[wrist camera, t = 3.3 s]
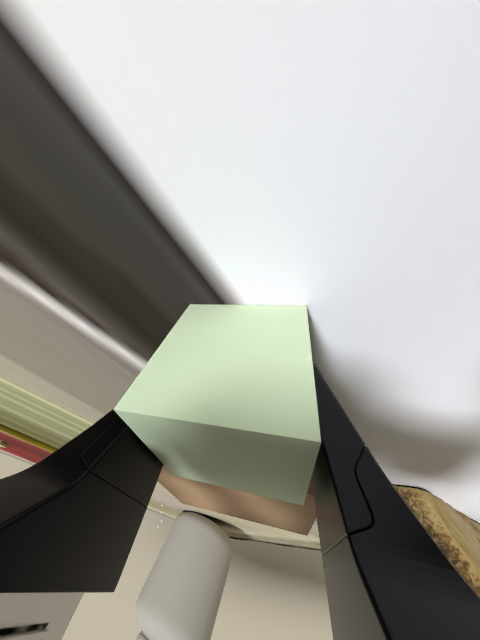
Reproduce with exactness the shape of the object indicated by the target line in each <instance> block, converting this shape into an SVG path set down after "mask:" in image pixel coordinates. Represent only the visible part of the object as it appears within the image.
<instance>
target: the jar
mask: <svg viewBox="0 0 480 640" xmlns="http://www.w3.org/2000/svg"><path fill="white" fill-rule="evenodd" d="M161 506H163V505H161ZM161 513H162V511H161ZM161 522H162V520H161ZM158 527H159V526H158ZM232 555H233V546H232V542H231V540H230V538H229V536H228V534H227V533H226V532H225V531H224V530H223V529H222V528H221V527H220V526H218V525H217V524H216V523H214V522H213V521H211V520H210V519H208V518H206V517H204V516H202V515H200V514H198V513H195V512H191V511H187V512H183V513H181V514H179V515H178V516H177V518H176V520H175V521H174V524H173V526H172V528H171V530H170V532H169V534H168V536H167V538H166V540H165V542H164V544H163V547H162V549H161V551H160V553H159V555H158V557H157V559H156V561H155V563H154V565H153V567H152V569H151V571H150V574H149V576H148V578H147V580H146V582H145V584H144V586H143V588H142V590H141V592H140V594H139V597H138V599H137V602H136V607H135V614H136V620H137V622H138V624H139V626H140V628H141V629H142V631H141V633H139V635H138V637H137V639H136V640H210V639H211V635H212V631H213V627H214V623H215V619H216V616H217V612H218V608H219V605H220V601H221V597H222V593H223V589H224V586H225V582H226V578H227V574H228V571H229V567H230V562H231V559H232Z"/></svg>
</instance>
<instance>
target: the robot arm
mask: <svg viewBox="0 0 480 640" xmlns="http://www.w3.org/2000/svg"><path fill="white" fill-rule="evenodd" d="M313 371H314V380H315V390H316V399H317V408H318V418H319V427H320V436H321V444H320V448H319V452H318V455H317V459H316V462H315V466H314V470H313V473H312V477H311V479H312V487H313V494H314V501H315V509H316V516H317V523H318V530H319V538H320V545H321V552H322V560H323V567H324V574H325V582H326V589H327V596H328V603H329V611H330V618H331V625H332V632H333V640H480V597H479V596H478V595H477V594H476V593H475V592H474V591H473V590H472V588H471V587H470V586H469V585H468V584H467V583H466V581H465V580H464V579H463V578H462V577H461V575H460V574H459V573H458V572H457V570H456V569H455V568H454V567H453V565H452V564H451V563H450V561H449V560H448V559H447V557H446V556H445V555H444V553H443V552H442V551H441V549H440V548H439V547H438V545H437V544H436V543H435V541H434V540H433V539H432V538H431V536H430V535H429V534H428V532H427V531H426V530H425V528H424V527H423V526H422V524H421V523H420V522H419V520H418V519H417V518H416V516H415V515H414V514H413V512H412V511H411V510H410V508H409V507H408V506H407V504H406V503H405V502H404V500H403V499H402V498H401V496H400V495H399V493H398V492H397V491H396V489H395V488H394V487H393V485H392V484H391V482H390V481H389V480H388V478H387V477H386V475H385V474H384V472H383V471H382V469H381V468H380V466H379V465H378V463H377V462H376V460H375V459H374V457H373V455H372V454H371V452H370V451H369V449H368V448H367V447H366V446H365V443H364V441H363V440H362V438H361V437H360V435H359V433H358V432H357V430H356V429H355V427H354V426H353V424H352V422H351V421H350V419H349V418H348V416H347V414H346V413H345V411H344V410H343V408H342V407H341V405H340V403H339V402H338V400H337V399H336V397H335V395H334V394H333V392H332V391H331V389H330V388H329V386H328V384H327V383H326V381H325V380H324V378H323V376H322V375H321V373H320V372H319V370H318V368H317V367H316V365H315V364H314V363H313ZM163 465H164V464H163V463H162V462H161V461H160V460H159V459H158V458H157V457H156V456H155V454H154V453H153V452H152V451H151V450H150V449H149V448H148V447H147V446H146V445H145V444H144V442H143V441H142V440H141V439H140V438H139V437H138V436H137V435H136V434H135V433H134V432H133V430H132V429H131V428H130V427H129V426H128V425H127V424H126V423H125V422H124V421H123V420H122V418H121V417H120V416H119V415H118V414H117V413H116V412H115V411H114V409H113V410H111V411H110V412H109V413H108V414H106V415H105V416H104V417H102V418H101V419H100V420H98V421H97V422H96V423H94V424H93V425H92V426H90V427H89V428H88V429H86V430H85V431H83V432H82V433H81V434H79V435H78V436H76V437H75V438H73V439H72V440H70V441H69V442H68V443H66V444H65V445H63V446H62V447H60V448H59V449H57V450H56V451H55V452H53V453H52V454H50V455H49V456H47V457H46V458H44V459H43V460H41V461H40V462H38V463H37V464H35V465H33V466H32V467H30V468H28V469H26V470H24V471H21V472H19V473H17V474H14V475H11V476H9V477H6V478H3V479H0V640H61V639H62V637H63V635H64V633H65V631H66V629H67V627H68V625H69V622H70V620H71V618H72V616H73V614H74V612H75V610H76V608H77V606H78V604H79V602H80V600H81V598H82V596H83V594H84V592H114V590H115V588H116V586H117V584H118V581H119V579H120V576H121V573H122V570H123V568H124V566H125V563H126V560H127V558H128V555H129V553H130V550H131V548H132V545H133V542H134V540H135V537H136V535H137V532H138V530H139V527H140V524H141V522H142V519H143V516H144V514H145V512H146V509H147V506H148V504H149V501H150V498H151V496H152V493H153V491H154V488H155V485H156V483H157V480H158V478H159V475H160V473H161V470H162V467H163Z"/></svg>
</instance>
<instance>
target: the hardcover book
mask: <svg viewBox="0 0 480 640" xmlns="http://www.w3.org/2000/svg"><path fill="white" fill-rule="evenodd" d="M93 424H94V422H92V421H90V420H88V419H86V418H84V417H82V416H80V415H78V414H76V413H74V412H72V411H70V410H68V409H66V408H64V407H62V406H60V405H58V404H56V403H54V402H52V401H50V400H48V399H46V398H44V397H42V396H40V395H38V394H36V393H34V392H32V391H30V390H28V389H26V388H24V387H22V386H20V385H18V384H16V383H14V382H12V381H10V380H8V379H6V378H4V377H2V376H0V449H1V450H4V451H6V452H9V453H11V454H14V455H16V456H19V457H21V458H24V459H26V460H29V461H31V462H34V463H36V464H37V463H38V462H40V461H41V460H43V459H44V458H46V457H47V456H49V455H50V454H52V453H53V452H55V451H56V450H57V449H59V448H60V447H62V446H63V445H65V444H66V443H68V442H69V441H70V440H72V439H73V438H75V437H76V436H78V435H79V434H81V433H82V432H83V431H85V430H86V429H88V428H89V427H90V426H92V425H93Z"/></svg>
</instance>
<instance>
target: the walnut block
mask: <svg viewBox="0 0 480 640" xmlns="http://www.w3.org/2000/svg"><path fill="white" fill-rule="evenodd" d="M157 481H158V482H159V483H160V484H162V485H163V486H164V487H165V488H166V489H167V490H168V491H169V492H170V493H172V494H173V495H174V496H175V497H176V498H177V499H178V500H179V501H180V502H182V503H184V504H187V505H191V506H195V507H199V508H203V509H207V510H210V511H214V512H218V513H222V514H226V515H230V516H234V517H237V518H241V519H245V520H249V521H253V522H257V523H261V524H264V525H268V526H272V527H276V528H280V529H284V530H287V531H291V532H295V533H299V534H303V535H308V533H309V531H310V529H311V527H312V525H313V523H314V521H315V519H316V517H317V516H316V509H315V501H314V494H313V487H312V479H311V480H310V484H309V488H308V491H307V495H306V498H305V502H304V506H303V505H299V504H295V503H290V502H286V501H282V500H277V499H273V498H269V497H264V496H260V495H255V494H251V493H247V492H242V491H238V490H234V489H229V488H225V487H221V486H216V485H212V484H208V483H203V482H199V481H194V480H190V479H186V478H181V477H177V476H174V475H173V474H172V473H171V472H170V471H169V470H168V469H167V468H166V466H165V465H163V467H162V470H161V473H160V475H159V478H158V480H157Z"/></svg>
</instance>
